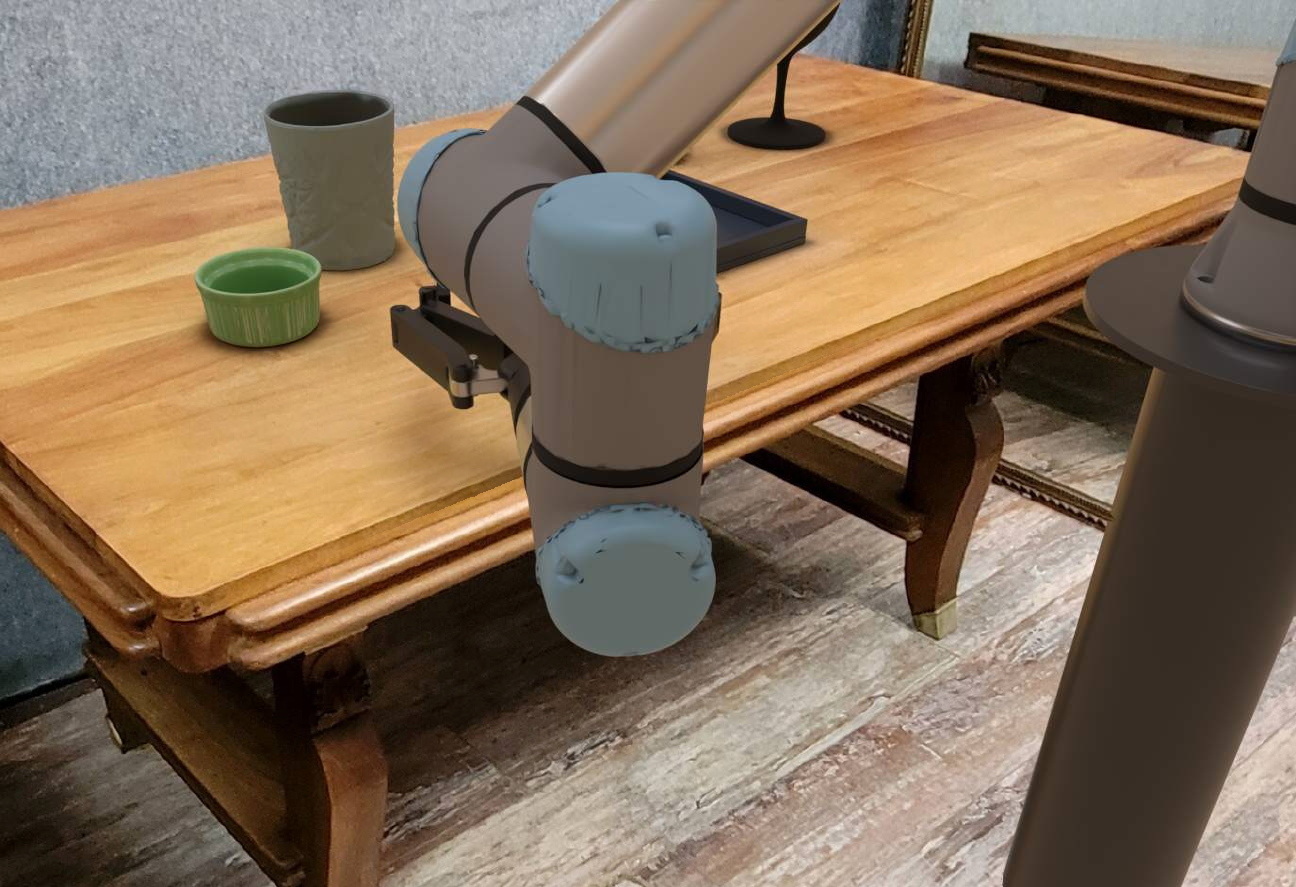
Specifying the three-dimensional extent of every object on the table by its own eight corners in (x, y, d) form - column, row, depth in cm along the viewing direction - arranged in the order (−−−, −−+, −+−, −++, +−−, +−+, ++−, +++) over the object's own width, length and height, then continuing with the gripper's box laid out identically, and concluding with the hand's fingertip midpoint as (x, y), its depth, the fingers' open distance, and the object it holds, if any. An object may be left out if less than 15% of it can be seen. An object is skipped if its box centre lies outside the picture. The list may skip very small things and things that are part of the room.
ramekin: (211, 303, 96) (202, 248, 93) (329, 298, 97) (324, 244, 94) (195, 354, 88) (185, 297, 86) (323, 349, 89) (317, 292, 87)
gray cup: (421, 237, 107) (413, 94, 101) (374, 281, 99) (362, 129, 93) (313, 225, 110) (298, 85, 103) (259, 267, 102) (239, 119, 95)
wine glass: (812, 119, 137) (836, -81, 126) (837, 148, 128) (864, -65, 117) (718, 121, 136) (733, -80, 125) (736, 150, 128) (754, -63, 117)
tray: (805, 242, 106) (808, 219, 105) (671, 288, 98) (673, 263, 97) (663, 189, 118) (664, 167, 117) (533, 226, 110) (532, 203, 109)
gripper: (352, 500, 66) (359, 330, 84) (811, 474, 68) (724, 314, 86) (339, 373, 62) (349, 223, 80) (828, 350, 64) (733, 208, 82)
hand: (544, 270), depth 83 cm, fingers open, 13 cm apart
